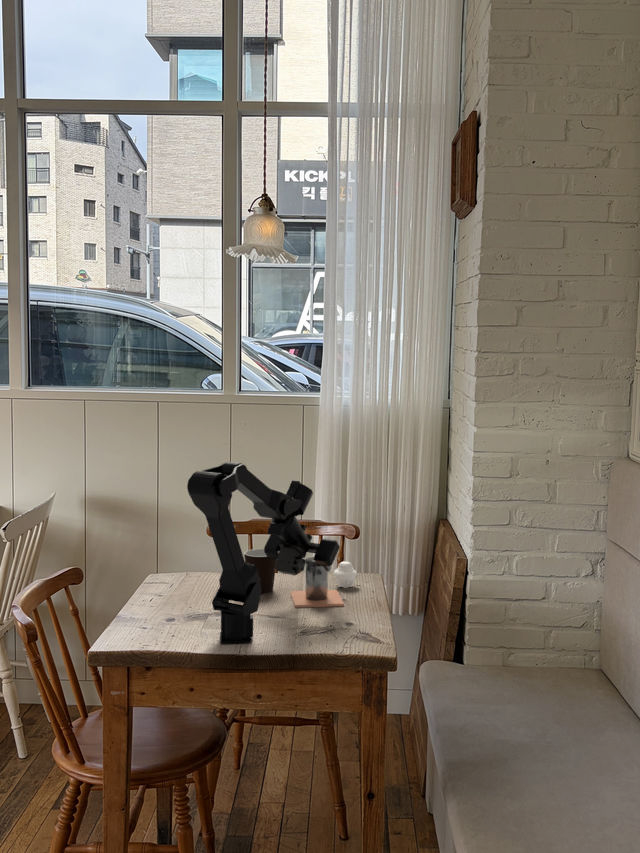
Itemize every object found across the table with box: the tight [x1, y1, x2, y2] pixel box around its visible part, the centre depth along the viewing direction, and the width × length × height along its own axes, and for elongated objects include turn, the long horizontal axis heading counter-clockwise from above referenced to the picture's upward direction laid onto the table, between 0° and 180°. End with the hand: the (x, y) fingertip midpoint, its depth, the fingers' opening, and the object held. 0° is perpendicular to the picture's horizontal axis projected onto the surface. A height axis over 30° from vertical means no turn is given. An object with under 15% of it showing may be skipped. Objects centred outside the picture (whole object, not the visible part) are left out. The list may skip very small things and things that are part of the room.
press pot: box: [304, 555, 329, 601], centre depth 208 cm, size 6×6×10 cm
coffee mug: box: [243, 548, 277, 595], centre depth 217 cm, size 12×9×10 cm
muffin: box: [333, 560, 358, 588], centre depth 220 cm, size 6×6×7 cm
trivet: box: [290, 589, 345, 609], centre depth 209 cm, size 12×12×1 cm
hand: (313, 567), depth 206 cm, fingers open, 9 cm apart
